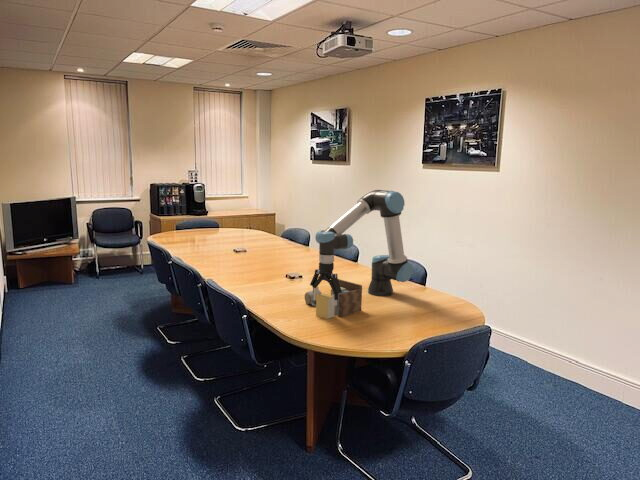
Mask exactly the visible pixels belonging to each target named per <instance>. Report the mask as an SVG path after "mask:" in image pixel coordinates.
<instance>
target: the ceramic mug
mask: <svg viewBox="0 0 640 480" xmlns="http://www.w3.org/2000/svg"><path fill="white" fill-rule="evenodd" d="M318 294H322V291H321V290H320V289H318ZM313 299H314V293H313V290H309V291H307V292H305V293H304V300H305V301H304V302H305V303H306V305H311V306H313V307H315V308H316V300H313Z"/></svg>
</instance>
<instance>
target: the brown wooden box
mask: <svg viewBox="0 0 640 480" xmlns="http://www.w3.org/2000/svg"><path fill="white" fill-rule="evenodd" d="M338 281H339V284H340V288H341V291H342V292H341V293H338V300H337V306H335V315H337V316H338V318H344V317H345V316H349V315H353V314H356V313H359V312H361V311H362V301H363V299H362V297H363V296H362V295H363V285H362V284H358V283H355V282H351V281H347V280H343V279H340V278H338ZM333 293H334V292H333V290H332V288H331V289H330V295H332V296H333Z"/></svg>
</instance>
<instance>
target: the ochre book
mask: <svg viewBox="0 0 640 480" xmlns="http://www.w3.org/2000/svg"><path fill="white" fill-rule="evenodd" d="M321 293H322V292H321ZM332 298H333V296H332V295H331V294H329V293H326V292H323V293H322V294H318V295H316V307H315V316H317V317H320V318H323V319H325V320H328V319H329V320H330V319H332V318H335V315H336V314H335V306H332Z"/></svg>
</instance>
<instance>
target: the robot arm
mask: <svg viewBox="0 0 640 480" xmlns="http://www.w3.org/2000/svg"><path fill="white" fill-rule="evenodd" d="M404 207H405V198H404V196H403V195H402V194H401V193H400V192H398V191H394V190H382V189H374V190H371V191H369V192H368V193H365V194H364V195H363V196H362V197H360V198H359V199H358V200H357V201H356V204H355V205H354V206H352V207H351V208H350V209H349V210H347V211H346V212H345V213H344V214H343V215H342V216H340V217H339V218H338V219H337V220H336V221H335V222H333V223H332V224H330V225H329V226H328V227H327V228H326V229H325V230H321V229H320V230H319V231H317V232H316V234H315V236H314V238H315V242H316V243H317V244H319V247H318V249H319V252H318V254H319V255H318V260H319V263H318V269H317V268H316V269H314V275H313V276H312V279H311V281H310V284H309V285H310V286H312V291H313V293H314V299H313V300H316V295H318V290H320V289H319V285H320V284H321V283H322V281H326V282H327V283H328V284H329V286H330V288H331V289H332V290H333V292H334V293H333V298H332V306H337V300H338V293H341V292H342V291H341V288H340V284H339V281H338V279H339V278H338V273H334V272H333V271H334V268H335V266H334V265H335V264H334V262H335V251H337V250H347V249H350V248H352V246H353V245H354V238H353V236H352V235H351V234H348V233H346V231H347V230H349V228H351V227H352V226H353V225H354V224H355V223H357V222H358V221H359V220H360V219H362V217H363V216H365V215H369V214H370V213H371V212H374V211H379V213H380V214H379V215H380V217H381V218H382V219H383V223H384V228H385V229H384V230H385V236H386V242H387V249H388V250H387V251H388V254H380V255H375V256H373V257H372V261H371V281H370V283H369V285H368V288H367V293H368V294H370V295H372V296H376V297H377V296H379V297H386V296H392V295H393V294H394V288H393V284H392V280H393V281H397V282H401V283H405V282H408V281H409V280H410V279H411V277H412V275H413V273H414V267H413V264H411V262H409V261H408V256H406V255H405V252H404V243H403V236H402V229H401V222H400V220H401V219H400V216H401V215H402V212H403V210H404Z"/></svg>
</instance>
